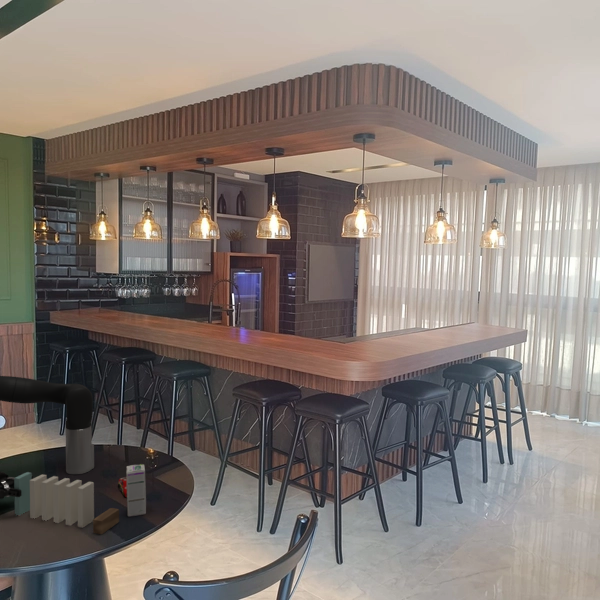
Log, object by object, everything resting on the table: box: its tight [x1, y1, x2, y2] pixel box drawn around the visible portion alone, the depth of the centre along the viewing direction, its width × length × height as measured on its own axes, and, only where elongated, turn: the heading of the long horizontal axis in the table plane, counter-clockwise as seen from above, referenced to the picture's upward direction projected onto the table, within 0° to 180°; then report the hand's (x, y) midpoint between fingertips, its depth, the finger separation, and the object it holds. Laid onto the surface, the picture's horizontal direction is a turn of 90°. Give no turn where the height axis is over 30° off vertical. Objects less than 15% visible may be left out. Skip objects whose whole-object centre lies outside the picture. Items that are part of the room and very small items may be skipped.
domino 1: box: [14, 471, 33, 516], centre depth 161 cm, size 2×5×12 cm, turn 163°
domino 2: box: [29, 473, 48, 520], centre depth 160 cm, size 2×5×12 cm, turn 163°
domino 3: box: [41, 475, 59, 522], centre depth 158 cm, size 2×5×12 cm, turn 163°
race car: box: [117, 476, 127, 498], centre depth 178 cm, size 13×5×4 cm, turn 31°
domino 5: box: [65, 479, 83, 526], centre depth 156 cm, size 2×5×12 cm, turn 163°
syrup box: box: [125, 463, 147, 517], centre depth 162 cm, size 6×6×14 cm
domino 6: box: [77, 481, 95, 528], centre depth 154 cm, size 2×5×12 cm, turn 163°
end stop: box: [92, 507, 120, 535], centre depth 152 cm, size 3×8×4 cm, turn 163°
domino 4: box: [53, 477, 71, 524], centre depth 157 cm, size 2×5×12 cm, turn 163°
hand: (29, 489), depth 161 cm, fingers open, 6 cm apart
